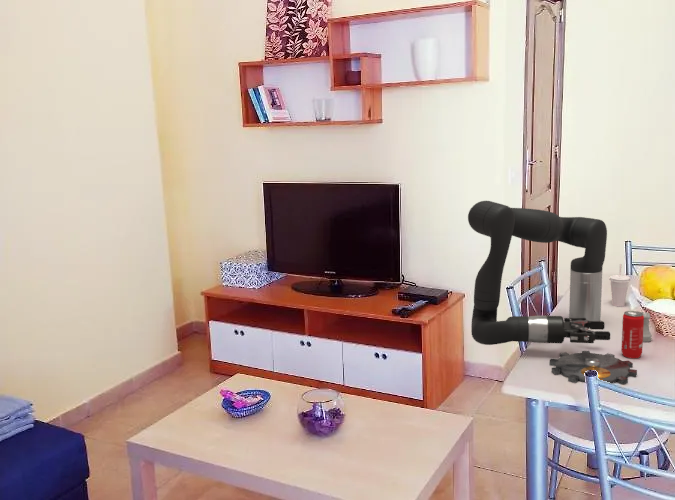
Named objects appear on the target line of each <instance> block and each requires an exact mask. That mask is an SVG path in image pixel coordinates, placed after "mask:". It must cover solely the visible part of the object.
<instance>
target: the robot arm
mask: <svg viewBox="0 0 675 500" xmlns="http://www.w3.org/2000/svg"><path fill="white" fill-rule="evenodd" d="M467 221H468V224H469V227H470V228H471V229H472V230H473V231H474V232H476V233H478V234H480V235H483V236H486V237H489V238H490V249H489V253H488V255H487V258H486V259H485V261H484V263H483V264H482V266H481V267H480V269H479V270H478V272H477V274H476V277H475V280H474V291H473V309H472V317H471V332H470V333H471V337H472V338H473V340H474V341H475V342H476V343H478V344H481V345H484V346H485V345H486V346H491V345H494V346H495V345H500V344H506V343H511V342H518V343H519V342H524V343H533V344H534V343H535V344H563V343H564V340H565V338H567V339H569V342H570V343H575V344H576V343H578V344H594V343H595V341H610V339H611V332H610V331H608V330H607V331H606V330H605V324H606V323H605V322H604V321H603V320H601V317H602V316H601V315H602V292H603V290H602V288H603V268H604V267H603V266H604V263H605V258H606V251H607V250H606V249H607V240H608V238H607V237H608V230H607V229H608V228H607V224H606V223H605V222H604V221H603V219H598V218H597V219H596V218H591V217H585V216H584V217H582V216H567V217H566V216H564V217H563V216H559V215H558V214H556V213H555V212H552V211H548V210H543V209H542V210H541V209H536V208H535V209H534V208H523V207H510V206H509V205H506V204H502V203H498V202H495V201H491V200H481V201H478V202H477V203H475V204H474V205H472V207H471V208H470V209H469V211H468V215H467ZM513 237H515V238H518V239H521V240H524V241H529V242H535V243H543V244H544V243H545V244H548V243H554V242H560V243H563V244H567V245H570V246H572V247H576V248H582V249H584V255H583V256H581V257H577V258H572V260H571V261H570V268H569V269H570V271H569V273H570V277H569V281H570V282H569V304H568V305H569V307H568V308H569V309H568V313H569V314H568V317H563V316H562V315H530V316H527V315H526V316H525V315H524V316H523V315H522V316H521V315H517V316H516V315H515V316H509V317H508V318H507V319H506V320H498V321H497V319H498V318H497V317H498V308H499V305H500V300H501V299H500V298H501V288H502V287H501V286H502V280H503V279H502V278H503V273H504V268H505V265H506V260H507V256H508V252H509V249H510V246H511V241H512V238H513ZM594 330H595V331H594ZM599 330H600V331H599ZM602 330H603V331H602Z"/></svg>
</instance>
